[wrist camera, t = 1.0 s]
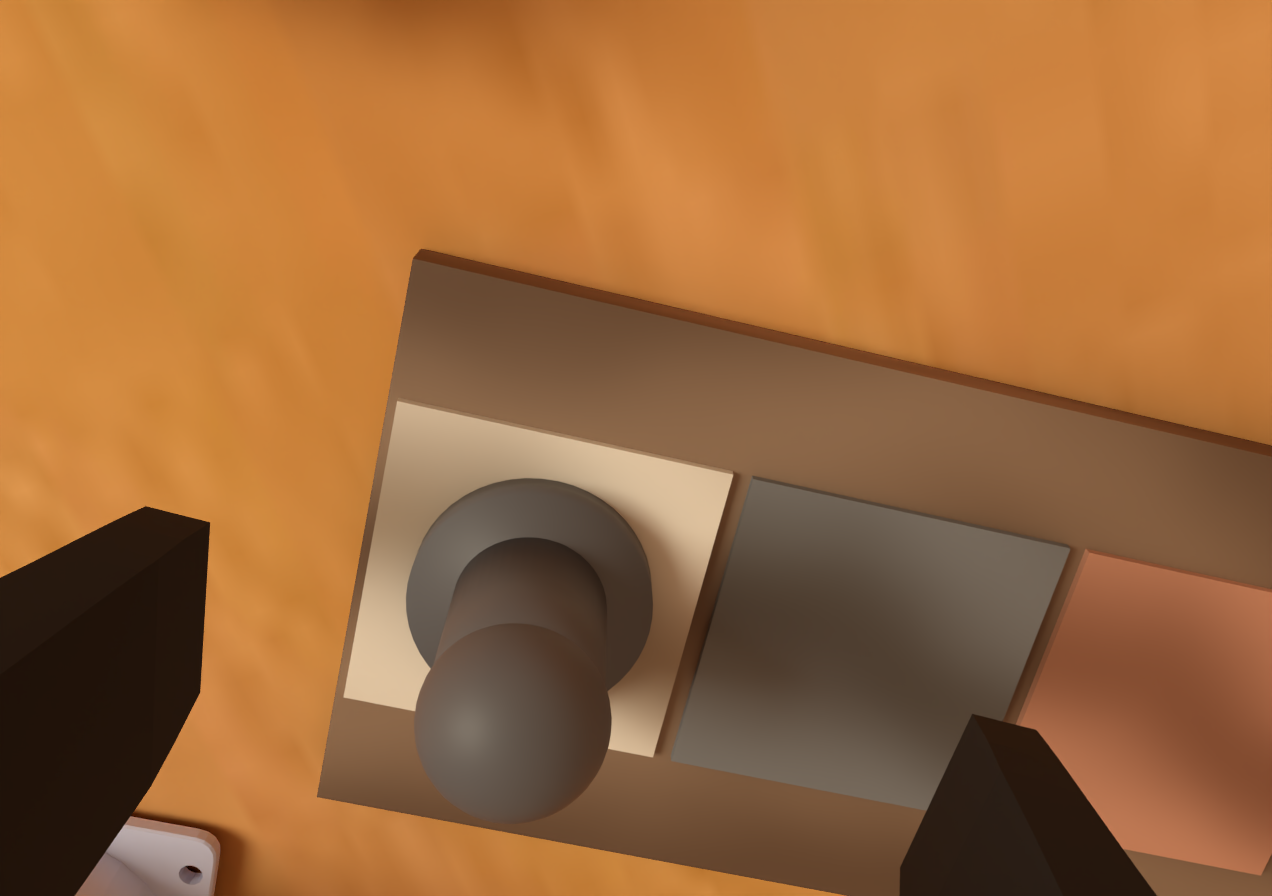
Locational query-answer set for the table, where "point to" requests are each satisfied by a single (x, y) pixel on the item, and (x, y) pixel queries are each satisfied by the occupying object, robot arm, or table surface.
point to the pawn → (523, 644)
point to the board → (833, 587)
